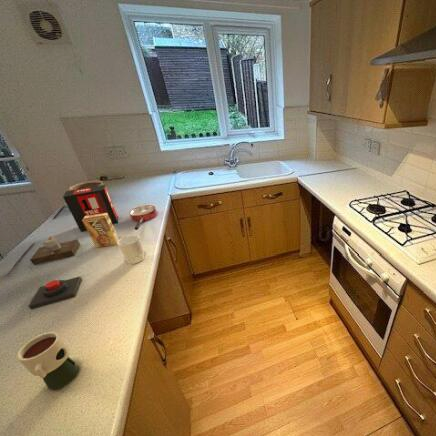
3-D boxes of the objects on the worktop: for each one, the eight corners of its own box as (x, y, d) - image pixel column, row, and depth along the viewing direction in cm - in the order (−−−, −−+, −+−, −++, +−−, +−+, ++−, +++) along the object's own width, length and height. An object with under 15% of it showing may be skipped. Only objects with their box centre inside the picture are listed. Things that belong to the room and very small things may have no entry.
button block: (31, 309, 80) (25, 302, 79) (42, 290, 88) (37, 283, 87) (75, 297, 85) (70, 289, 83) (82, 279, 93) (78, 272, 91)
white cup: (150, 256, 105) (143, 237, 100) (132, 267, 99) (123, 247, 94) (139, 251, 109) (132, 233, 104) (121, 261, 103) (113, 241, 98)
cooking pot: (83, 198, 167) (76, 181, 161) (115, 193, 173) (108, 177, 167) (69, 212, 146) (59, 194, 140) (105, 207, 152) (97, 189, 146)
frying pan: (160, 233, 122) (156, 222, 119) (130, 240, 117) (126, 229, 114) (156, 210, 147) (153, 200, 144) (132, 215, 142) (128, 205, 139)
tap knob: (59, 249, 106) (54, 239, 103) (47, 252, 104) (40, 242, 101) (62, 245, 109) (57, 235, 107) (50, 247, 107) (44, 237, 105)
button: (45, 292, 83) (43, 288, 82) (49, 285, 86) (47, 281, 85) (59, 288, 84) (56, 285, 84) (62, 282, 87) (60, 278, 86)
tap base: (33, 265, 101) (29, 259, 100) (42, 252, 109) (38, 247, 108) (74, 255, 107) (71, 250, 105) (80, 244, 115) (77, 239, 113)
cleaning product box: (117, 217, 140) (104, 184, 130) (118, 223, 133) (104, 189, 124) (82, 225, 132) (65, 191, 122) (81, 232, 125) (63, 196, 116)
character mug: (79, 388, 58) (53, 356, 52) (40, 407, 55) (8, 375, 49) (84, 352, 66) (62, 321, 60) (51, 367, 63) (24, 334, 57)
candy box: (119, 240, 118) (107, 212, 110) (117, 244, 114) (105, 216, 107) (98, 243, 115) (84, 215, 108) (95, 248, 112) (81, 219, 104)
